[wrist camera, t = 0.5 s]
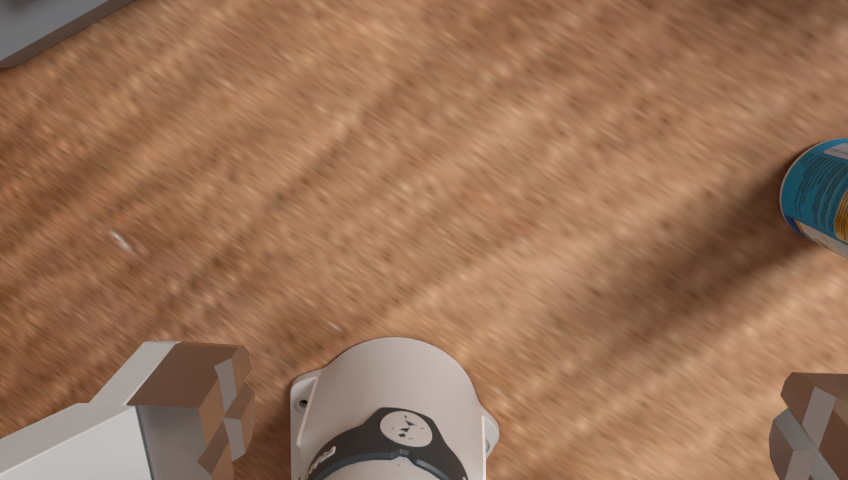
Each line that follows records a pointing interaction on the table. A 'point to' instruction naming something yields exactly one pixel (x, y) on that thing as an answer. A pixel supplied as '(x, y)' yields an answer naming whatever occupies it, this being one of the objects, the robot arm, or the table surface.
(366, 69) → the table surface
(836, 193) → the beverage bottle
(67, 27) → the housing
